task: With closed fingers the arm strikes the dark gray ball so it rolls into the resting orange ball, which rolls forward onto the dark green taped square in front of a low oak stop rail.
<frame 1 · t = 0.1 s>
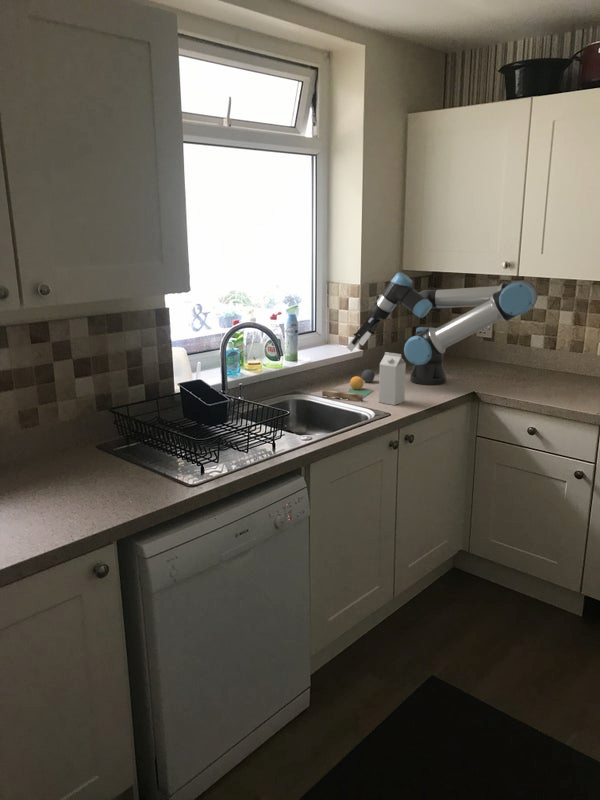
hand: (354, 346, 278), 15 cm above the worktop, tool tilted 35°, fingers open, 13 cm apart
stop rail: (342, 398, 255), on the worktop
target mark: (351, 393, 263), on the worktop
object ball: (356, 383, 268), on the worktop
dark gray ball: (368, 375, 280), on the worktop
milk carton: (391, 402, 250), on the worktop
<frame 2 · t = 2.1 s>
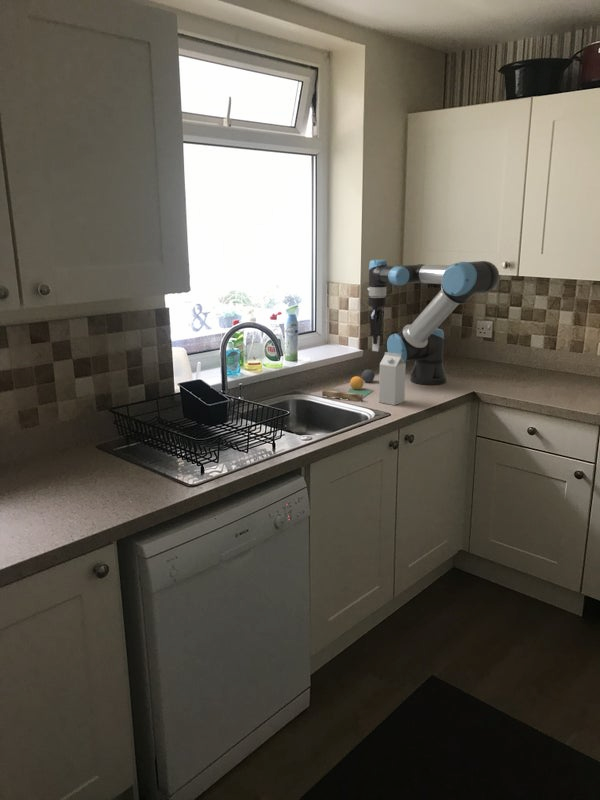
hand: (375, 350, 287), 12 cm above the worktop, tool pointing down, fingers closed
nothing on the worktop moved.
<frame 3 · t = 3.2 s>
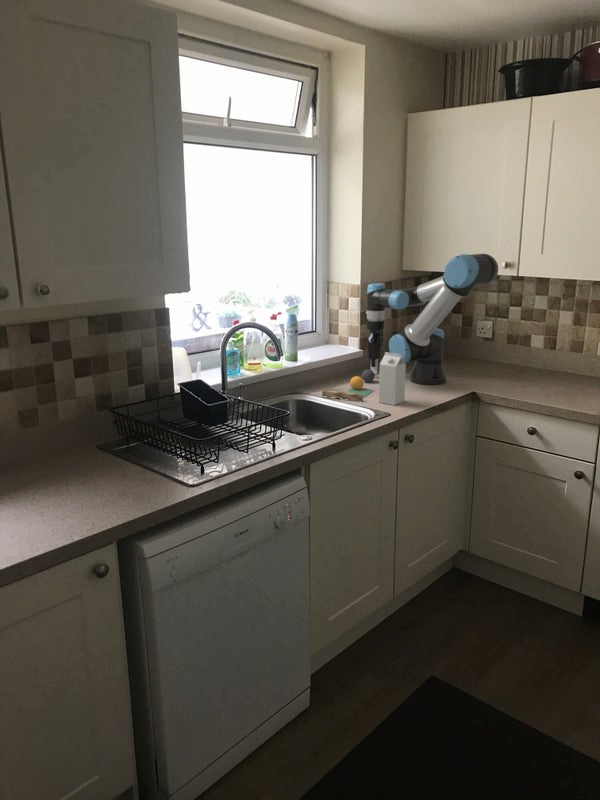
hand: (374, 373, 288), 2 cm above the worktop, tool pointing down, fingers closed
nothing on the worktop moved.
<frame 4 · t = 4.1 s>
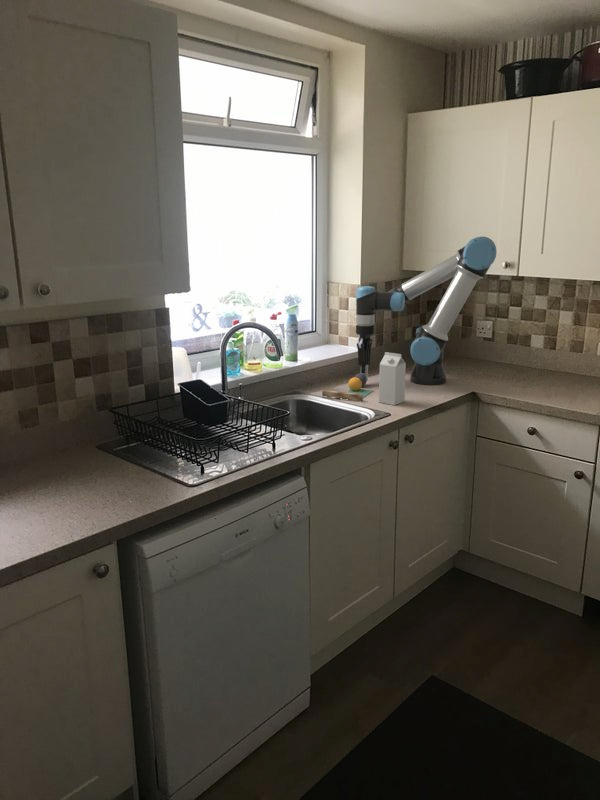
hand: (364, 380, 276), 2 cm above the worktop, tool pointing down, fingers closed
object ball: (355, 384, 266), on the worktop
dark gray ball: (360, 380, 273), on the worktop
everything else where it was.
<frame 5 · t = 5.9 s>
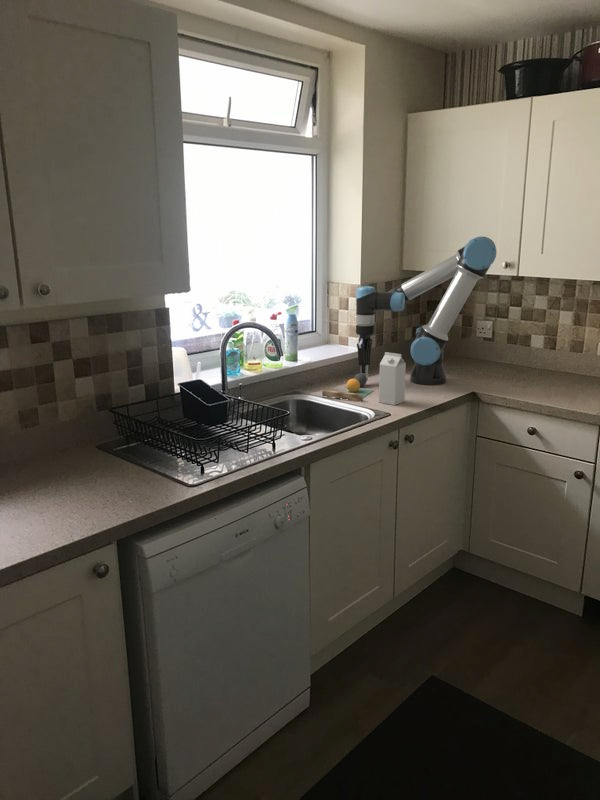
hand: (364, 380, 276), 2 cm above the worktop, tool pointing down, fingers closed
object ball: (353, 385, 264), on the worktop
everything else where it was.
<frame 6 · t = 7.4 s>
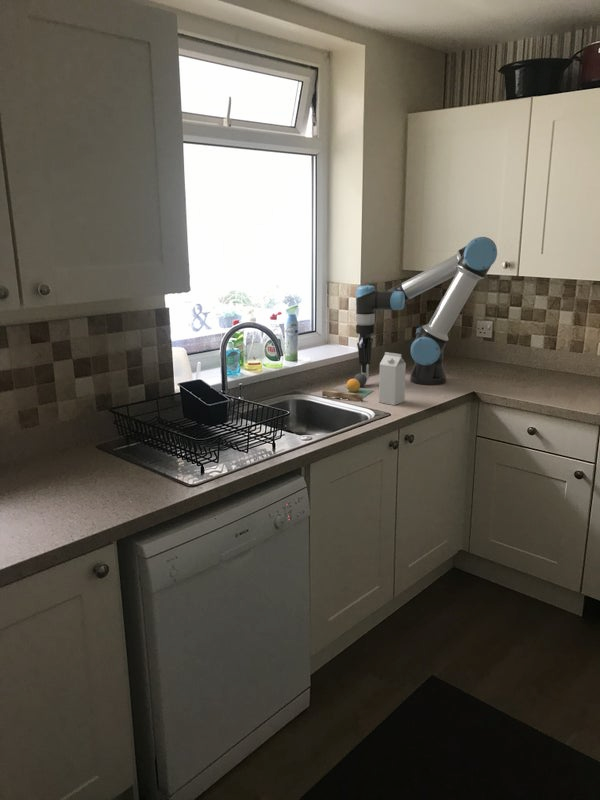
hand: (364, 379, 276), 2 cm above the worktop, tool pointing down, fingers closed
nothing on the worktop moved.
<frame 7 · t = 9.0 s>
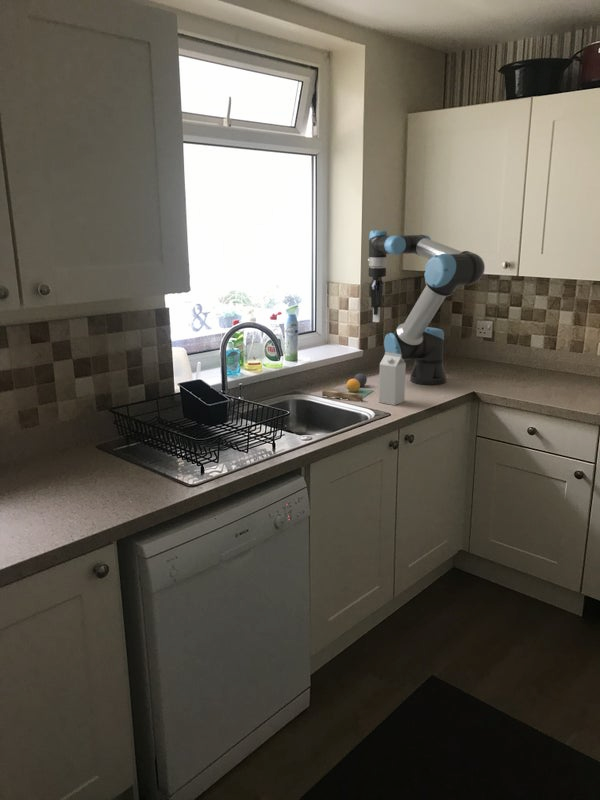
hand: (376, 321, 289), 24 cm above the worktop, tool pointing down, fingers closed
nothing on the worktop moved.
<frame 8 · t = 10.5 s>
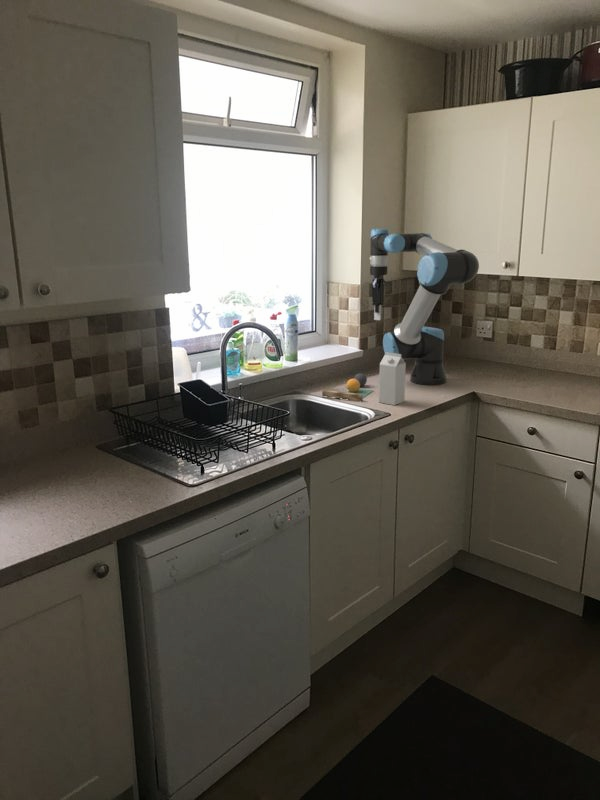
hand: (377, 319, 290), 24 cm above the worktop, tool pointing down, fingers closed
nothing on the worktop moved.
at the end: object ball 2.0 cm from the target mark (horizontally); object ball never touched the robot; dark gray ball first touched object ball at 3.8 s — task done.
